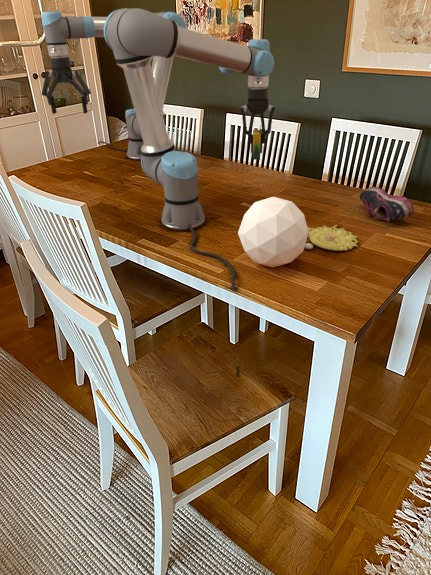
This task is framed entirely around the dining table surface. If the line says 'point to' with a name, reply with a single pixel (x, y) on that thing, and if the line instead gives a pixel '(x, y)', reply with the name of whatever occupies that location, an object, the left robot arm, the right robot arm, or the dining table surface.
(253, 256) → the sphere
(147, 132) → the right robot arm
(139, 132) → the left robot arm
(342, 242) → the decorative object
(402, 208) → the athletic shoe
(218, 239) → the dining table surface
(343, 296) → the dining table surface
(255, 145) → the crayon box
